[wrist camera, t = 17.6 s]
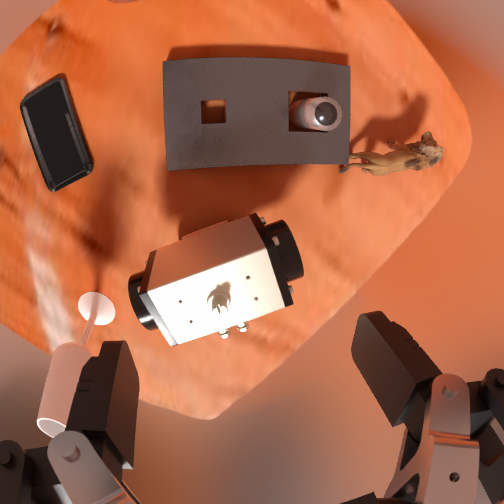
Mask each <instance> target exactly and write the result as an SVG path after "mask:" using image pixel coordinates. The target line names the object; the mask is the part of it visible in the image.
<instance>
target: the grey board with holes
mask: <svg viewBox="0 0 504 504" xmlns="http://www.w3.org/2000/svg"><path fill="white" fill-rule="evenodd" d="M289 92H294V93H310V94H321V97H330V98H332V99H334V100H335V101H336V102H337V103H338V104H339V106H340V108H341V110H342V119H341V122H340V124H339V125H338V126H337V127H336V128H335V129H333V130H330V131H323V130H321V132H318V131H289ZM203 101H224V122H225V123H209V124H202V123H201V102H203ZM163 102H164V127H165V145H166V160H167V171H173V170H184V169H196V168H210V167H226V166H246V165H276V164H345V165H348V161H349V139H350V66H345V65H338V64H331V63H323V62H314V61H305V60H293V59H279V58H255V57H221V58H196V59H182V60H171V61H163Z"/></svg>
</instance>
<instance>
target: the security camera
mask: <svg viewBox="0 0 504 504" xmlns="http://www.w3.org/2000/svg"><path fill="white" fill-rule="evenodd" d="M265 224H266V221H265V219H264V217H262V218H259V217H258V215H257V213H253V214H251V215H248V216H245V217H242V218H239V219H237V220H234V221H231V222H229V223H228V222H227V220H225V221H222V222H219V223H216V224H214V225H211V226H208V227H206V228H203V229H200V230H198V231H195V232H192V233H190V234H187V235H185V236H182V240H180V241H178V242H175V243H173V244H170V245H167V246H165V247H162V248H160V249H157V250H155V251H152V252H150V254H149V257H148V260H147V261H145V264H146V268H145V270H144V271H141V272H139V273H136V274H133V275H132V276H131V277H130V278H129V281H128V292H129V297H130V301H131V305H132V307H133V310H134V312H135V314H136V316H137V318H138V320H139V321H140V322H141V324H142V325H143V326H144V327H145V328H146V329H148V330H155V329H158V328H159V329H160V330H161V332H162V334H163V335H164V337H165V338H166V340H167V341H168V343H169V344H170V346H174V345H178V344H181V343H184V342H187V341H190V340H193V339H196V338H199V337H203V336H206V335H209V334H212V333H215V332H218V334H219V336H220V337H221V338H227V337H228V336H229V335H230V330H229V329H228V328H229V327H232V326H235V325H236V326H237V327H236V328H237V330H238V331H240V332H245V331H246V330H247V329H248V327H249V325H248V323H247V322H246V321H249V320H252V319H255V318H258V317H260V316H263V315H266V314H269V313H271V312H274V311H277V310H279V309H282V308H285V307H287V306H290V305H293V300H292V297H291V293H293V288H292V286H291V285H290V286H288V284H287V283H289V282H291V281H294V280H296V279H299V278H302V277H303V276H304V269H303V264H302V260H301V256H300V253H299V250H298V247H297V245H296V242H295V240H294V237H293V235H292V233H291V231H290V229H289V227H288V225H287V224H286V222H285V221H284V220H279V221H276V222H273V223H270V224H267V225H265ZM264 225H265V226H264Z"/></svg>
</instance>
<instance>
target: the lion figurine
mask: <svg viewBox="0 0 504 504" xmlns="http://www.w3.org/2000/svg"><path fill="white" fill-rule="evenodd" d="M421 140H422V141H417V142H416V143H410V144H407V145H404V144H395V142H394V141H393V140H390V141H389V142H388V147H389V148H390V149H392V150H396V151H393V152H389V153H386V154H384V155H381V154H378V153H374V152H360V153H352V152H351V151H349V159H356V158H361V159H365V160H367V161H368V162H369V164H363V163H351V164H348V165H347V166H345V167H342V168H341V169H340V170H339V173H340V174H341V173H343V172H345V171H347V169H349V168H350V167H361V168H362V171H363V172H366V173H368V172H369V173H371V174H372V175H375V176H383V175H388V174H390V173H393V172H401V171H404V170H408V169H414V170H417V171H418V170H423V169H425V168H428V167H431V166H433V164H436V163H437V162H439V161H440V160H441V157H442V156H443V150H444V148H442V147H441V146H439V145H437V142H436V141H435V140H434V139H433V137H432V134H431V132H429V131H428V132H427V133H424V134H423V135H422V136H421Z"/></svg>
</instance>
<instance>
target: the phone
mask: <svg viewBox="0 0 504 504" xmlns="http://www.w3.org/2000/svg"><path fill="white" fill-rule="evenodd" d="M20 110H21V114H22V117H23V120H24V124H25V127H26V130H27V133H28V136H29V139H30V142H31V145H32V148H33V151H34V154H35V157H36V160H37V162H38V165H39V168H40V170H41V173H42V175H43V178H44V181H45V183H46V186H47V188H48V189H49V190H50V191H52V192H55V191H58V190H59V189H61V188H63V187H65V186H67V185H69V184H71V183H73V182H75V181H77V180H79V179H81V178H83V177H85V176H87V175H88V174H90V173H91V172H92V170H93V163H92V160H91V157H90V155H89V152H88V149H87V146H86V144H85V140H84V137H83V136H82V133H81V130H80V127H79V124H78V121H77V118H76V115H75V112H74V109H73V106H72V103H71V99H70V96H69V93H68V89H67V86H66V83H65V80H64V79H62V78H54V79H53V80H51V81H49V82H48V83H46V84H45V85H43V86H41V87H40V88H38V89H37V90H35V91H34V92H32V93H31V94H29V95H28V96H26V97H25V98H24V99H23V100H22V101H21V103H20Z"/></svg>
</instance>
